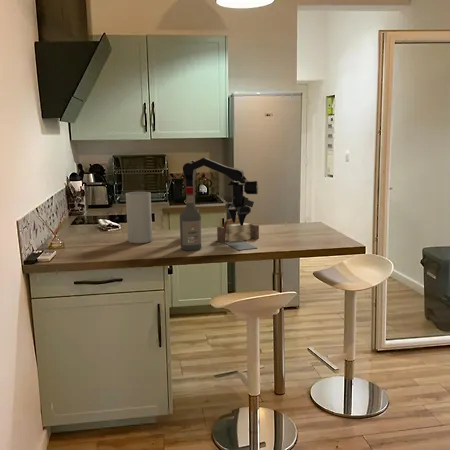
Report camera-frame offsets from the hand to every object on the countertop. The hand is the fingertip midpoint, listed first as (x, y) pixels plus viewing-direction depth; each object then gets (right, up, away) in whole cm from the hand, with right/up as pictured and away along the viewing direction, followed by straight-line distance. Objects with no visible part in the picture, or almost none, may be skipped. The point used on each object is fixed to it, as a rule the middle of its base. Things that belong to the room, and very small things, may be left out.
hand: (237, 224), depth 272 cm
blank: (0, -8, +2) cm, 8 cm away
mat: (+1, -11, -12) cm, 16 cm away
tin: (-2, -5, +17) cm, 18 cm away
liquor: (-23, -12, -17) cm, 31 cm away
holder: (0, -8, +2) cm, 8 cm away
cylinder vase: (-50, -9, 0) cm, 51 cm away
